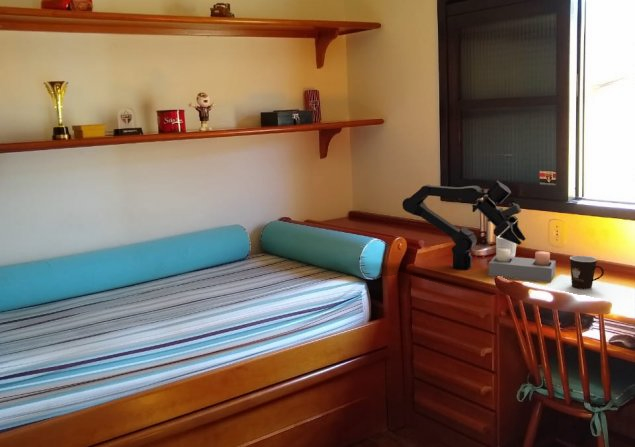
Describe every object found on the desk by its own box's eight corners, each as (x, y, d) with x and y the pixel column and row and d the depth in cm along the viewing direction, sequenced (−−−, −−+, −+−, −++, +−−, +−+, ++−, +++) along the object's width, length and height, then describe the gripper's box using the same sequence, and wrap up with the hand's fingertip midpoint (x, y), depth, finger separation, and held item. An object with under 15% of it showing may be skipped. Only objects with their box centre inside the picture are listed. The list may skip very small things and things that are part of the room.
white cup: (515, 259, 260) (516, 235, 258) (516, 264, 253) (517, 239, 251) (495, 258, 262) (495, 234, 260) (495, 263, 254) (496, 238, 252)
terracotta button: (534, 265, 232) (534, 253, 232) (535, 262, 237) (536, 250, 236) (548, 266, 230) (549, 255, 229) (550, 263, 235) (550, 252, 234)
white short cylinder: (494, 261, 239) (495, 250, 238) (497, 258, 243) (497, 247, 242) (508, 263, 236) (509, 251, 236) (510, 260, 241) (511, 248, 240)
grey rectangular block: (488, 275, 237) (488, 262, 236) (494, 267, 248) (495, 255, 247) (551, 282, 227) (551, 268, 226) (554, 273, 238) (555, 260, 237)
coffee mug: (563, 283, 225) (565, 256, 223) (587, 282, 226) (589, 255, 224) (580, 293, 214) (581, 264, 212) (604, 292, 215) (606, 263, 213)
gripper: (502, 199, 228) (534, 230, 224) (511, 194, 244) (542, 223, 241) (480, 221, 233) (511, 251, 229) (491, 214, 249) (521, 243, 245)
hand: (522, 241), depth 236 cm, fingers open, 9 cm apart
